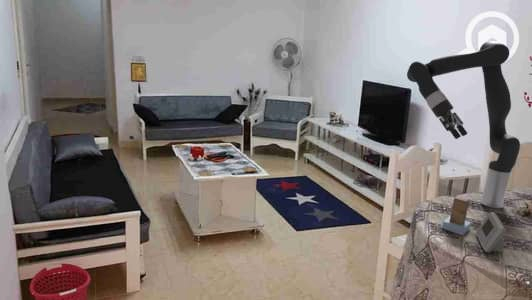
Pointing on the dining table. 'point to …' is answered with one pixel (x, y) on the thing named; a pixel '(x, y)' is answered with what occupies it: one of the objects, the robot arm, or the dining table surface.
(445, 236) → the dining table surface
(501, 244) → the digital clock
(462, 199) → the walnut pillar
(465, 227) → the pedestal
